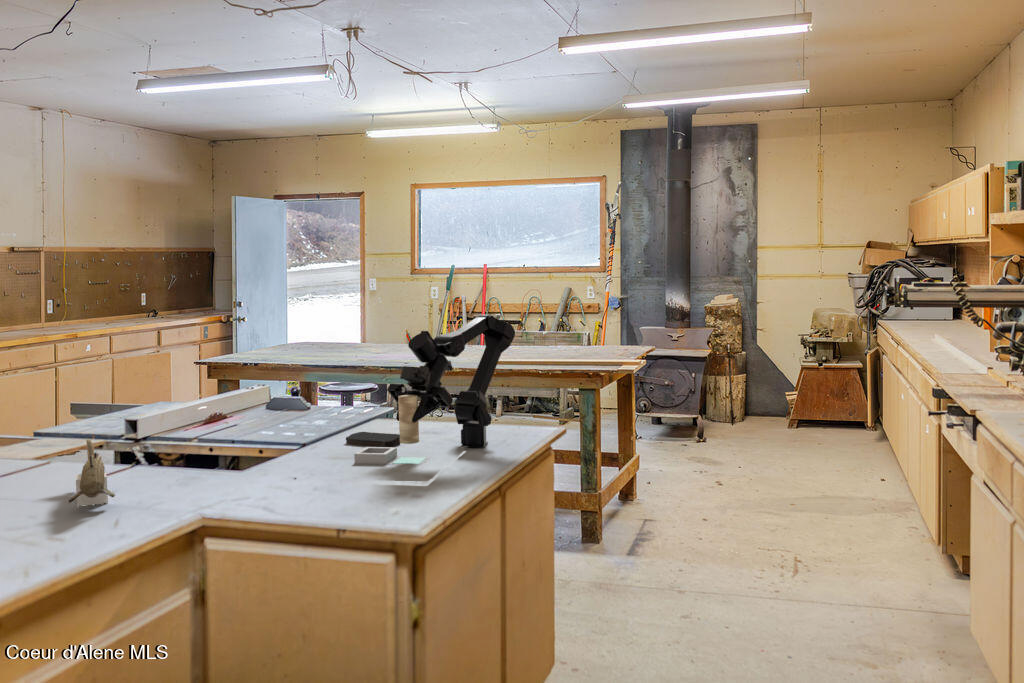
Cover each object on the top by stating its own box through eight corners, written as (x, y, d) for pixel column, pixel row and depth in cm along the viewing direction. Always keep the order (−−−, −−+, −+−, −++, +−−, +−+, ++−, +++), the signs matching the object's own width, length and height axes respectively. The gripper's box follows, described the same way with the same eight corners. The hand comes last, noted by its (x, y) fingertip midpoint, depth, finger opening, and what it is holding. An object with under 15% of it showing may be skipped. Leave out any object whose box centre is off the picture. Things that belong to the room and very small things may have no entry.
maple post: (419, 439, 217) (418, 394, 216) (418, 443, 212) (417, 397, 211) (400, 440, 217) (398, 395, 216) (399, 444, 212) (397, 397, 211)
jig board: (431, 461, 219) (430, 448, 218) (421, 469, 210) (420, 455, 209) (366, 459, 222) (366, 446, 222) (353, 467, 213) (353, 453, 213)
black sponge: (405, 447, 239) (404, 434, 239) (387, 452, 231) (387, 439, 231) (359, 443, 246) (359, 431, 246) (341, 448, 239) (341, 436, 239)
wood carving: (112, 481, 203) (110, 436, 202) (117, 516, 172) (114, 463, 171) (71, 485, 199) (68, 440, 198) (68, 522, 168) (64, 468, 167)
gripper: (390, 353, 221) (362, 399, 213) (444, 355, 211) (417, 404, 202) (411, 378, 228) (384, 424, 220) (464, 382, 218) (438, 431, 210)
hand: (405, 420), depth 213 cm, fingers closed on maple post, 5 cm apart
